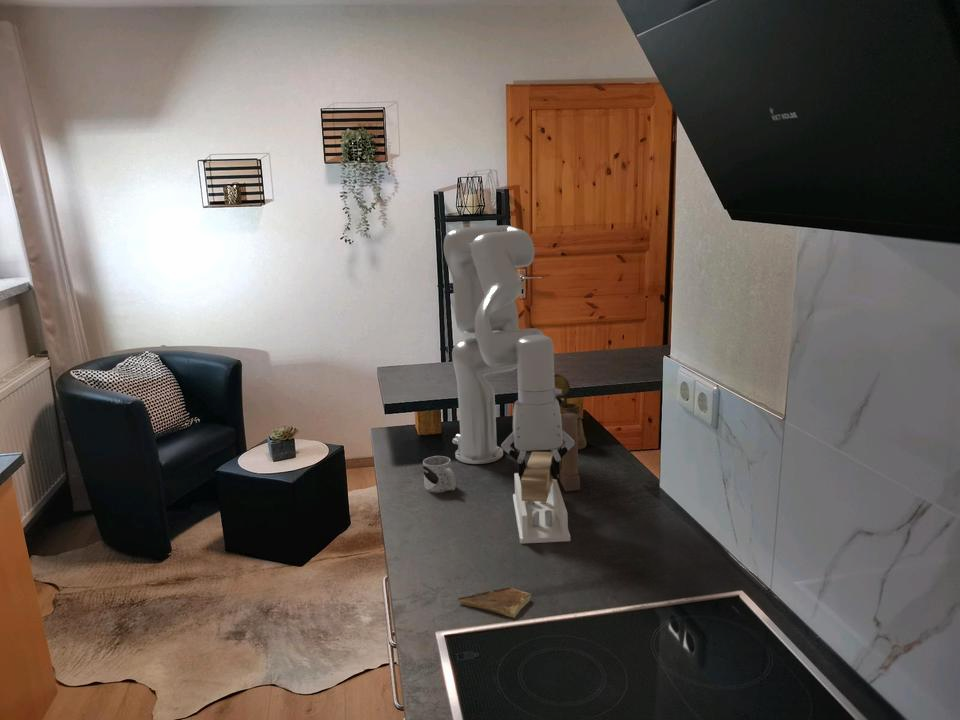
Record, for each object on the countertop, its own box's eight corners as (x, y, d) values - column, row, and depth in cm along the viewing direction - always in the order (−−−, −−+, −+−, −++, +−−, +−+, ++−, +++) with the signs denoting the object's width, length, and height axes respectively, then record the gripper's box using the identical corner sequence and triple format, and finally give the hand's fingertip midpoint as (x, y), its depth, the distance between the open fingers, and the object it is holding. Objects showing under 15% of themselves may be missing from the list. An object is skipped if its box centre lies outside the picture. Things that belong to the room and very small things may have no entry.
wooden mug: (571, 432, 212) (570, 371, 208) (591, 448, 199) (590, 383, 195) (542, 436, 210) (540, 374, 205) (560, 452, 197) (558, 387, 193)
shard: (457, 606, 129) (457, 596, 128) (479, 585, 135) (479, 576, 135) (513, 622, 123) (513, 612, 123) (533, 599, 130) (533, 590, 129)
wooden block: (569, 473, 183) (568, 403, 179) (580, 490, 173) (579, 416, 168) (555, 474, 183) (553, 404, 178) (564, 492, 172) (563, 417, 168)
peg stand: (570, 541, 149) (570, 513, 148) (520, 543, 149) (519, 515, 147) (556, 495, 170) (556, 471, 169) (512, 498, 170) (512, 473, 169)
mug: (419, 487, 179) (417, 461, 177) (441, 479, 183) (440, 453, 181) (443, 499, 171) (442, 472, 170) (466, 491, 175) (465, 464, 174)
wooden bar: (532, 470, 166) (532, 451, 165) (555, 471, 165) (554, 452, 164) (521, 500, 151) (520, 479, 150) (546, 501, 149) (545, 480, 148)
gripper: (575, 388, 157) (577, 469, 161) (493, 393, 157) (497, 473, 161) (581, 398, 150) (582, 482, 154) (495, 403, 149) (499, 487, 154)
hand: (538, 477), depth 157 cm, fingers closed on wooden bar, 5 cm apart
